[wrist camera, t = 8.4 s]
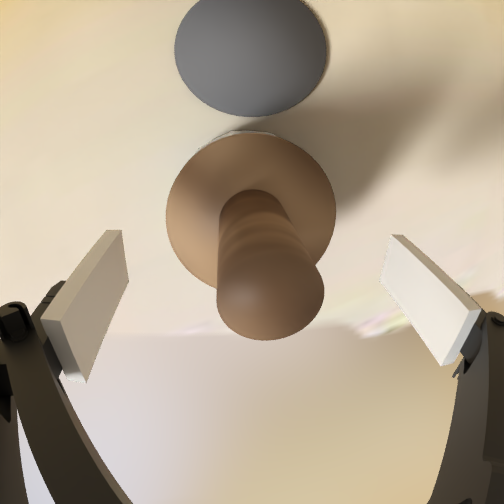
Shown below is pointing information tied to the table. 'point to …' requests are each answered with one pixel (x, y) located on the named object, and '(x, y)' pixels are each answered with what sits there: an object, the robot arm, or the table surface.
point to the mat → (250, 54)
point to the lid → (254, 231)
